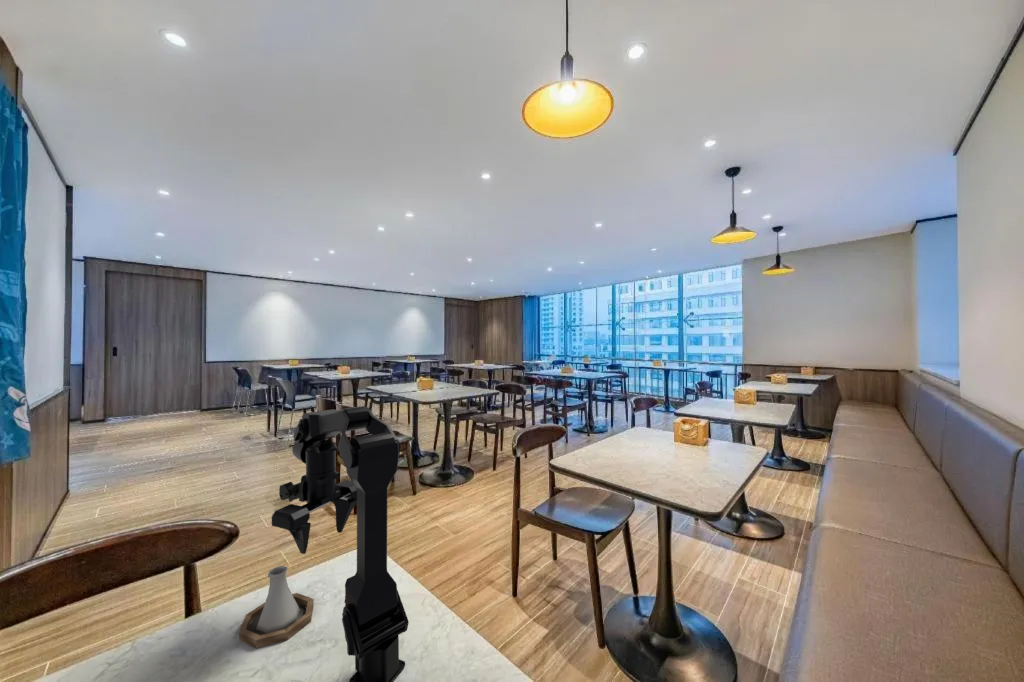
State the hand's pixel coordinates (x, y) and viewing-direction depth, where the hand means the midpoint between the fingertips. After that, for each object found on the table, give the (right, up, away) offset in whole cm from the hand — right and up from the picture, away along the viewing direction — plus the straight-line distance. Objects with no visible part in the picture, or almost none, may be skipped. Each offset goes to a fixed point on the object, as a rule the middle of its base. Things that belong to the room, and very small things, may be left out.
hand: (322, 542), depth 83 cm
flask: (-6, -13, -6) cm, 15 cm away
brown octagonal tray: (-6, -13, -6) cm, 15 cm away
